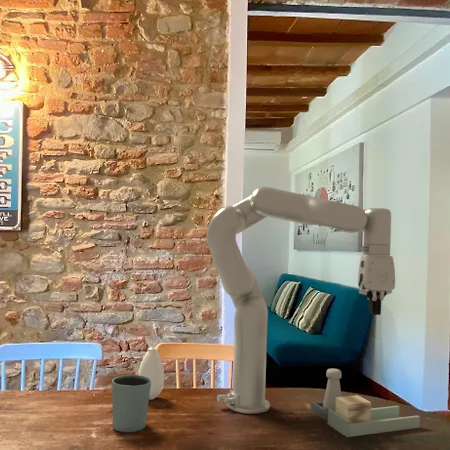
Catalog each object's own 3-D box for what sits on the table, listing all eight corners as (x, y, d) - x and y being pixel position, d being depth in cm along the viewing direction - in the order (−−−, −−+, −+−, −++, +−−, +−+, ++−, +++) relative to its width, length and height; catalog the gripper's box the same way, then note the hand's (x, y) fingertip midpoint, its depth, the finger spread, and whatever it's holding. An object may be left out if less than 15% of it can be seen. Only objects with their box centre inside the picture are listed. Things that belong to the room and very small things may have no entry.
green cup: (107, 421, 139) (108, 376, 139) (144, 417, 143) (145, 373, 143) (114, 435, 130) (116, 387, 130) (154, 430, 134) (155, 383, 134)
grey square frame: (328, 422, 143) (328, 413, 143) (310, 411, 152) (311, 402, 152) (357, 419, 147) (357, 410, 147) (338, 408, 156) (338, 399, 156)
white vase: (141, 393, 163) (143, 336, 163) (166, 395, 162) (168, 337, 162) (134, 401, 155) (136, 341, 156) (159, 403, 154) (161, 342, 155)
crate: (348, 432, 135) (349, 405, 135) (333, 422, 141) (334, 397, 141) (371, 429, 137) (372, 402, 138) (356, 420, 144) (356, 394, 144)
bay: (346, 437, 133) (347, 421, 133) (327, 424, 142) (328, 409, 142) (419, 427, 142) (419, 412, 142) (397, 416, 150) (397, 402, 150)
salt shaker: (343, 419, 146) (344, 373, 146) (322, 417, 147) (323, 371, 147) (342, 412, 152) (344, 367, 152) (322, 410, 153) (324, 366, 153)
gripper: (363, 251, 145) (361, 317, 145) (406, 251, 150) (404, 315, 150) (347, 249, 152) (345, 312, 152) (389, 250, 157) (387, 311, 157)
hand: (374, 314), depth 151 cm, fingers closed
